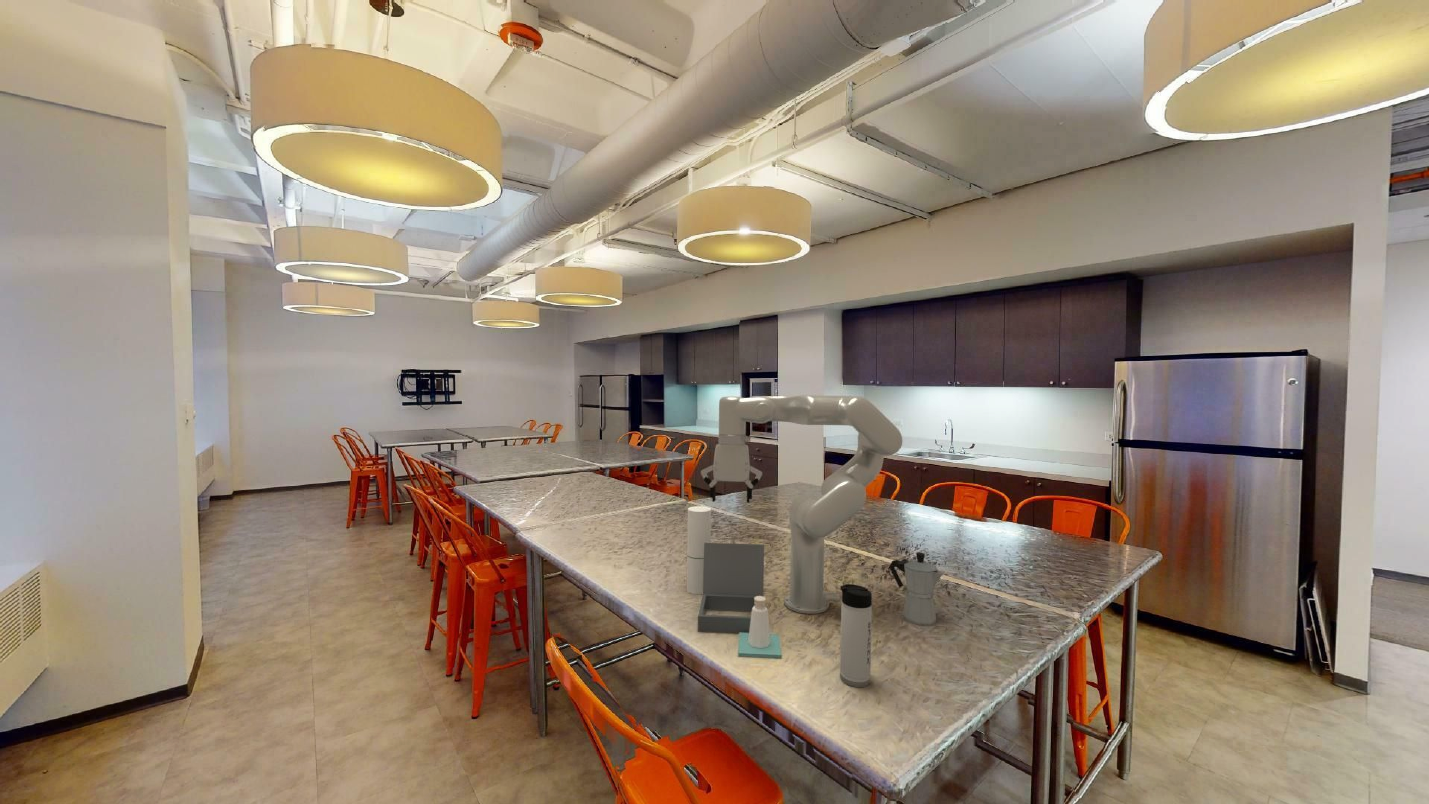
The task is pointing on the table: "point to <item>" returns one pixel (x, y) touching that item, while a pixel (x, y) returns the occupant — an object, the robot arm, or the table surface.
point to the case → (725, 622)
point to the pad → (766, 652)
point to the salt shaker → (759, 624)
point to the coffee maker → (918, 589)
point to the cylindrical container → (697, 546)
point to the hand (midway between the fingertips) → (731, 501)
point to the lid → (733, 569)
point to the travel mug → (855, 635)
